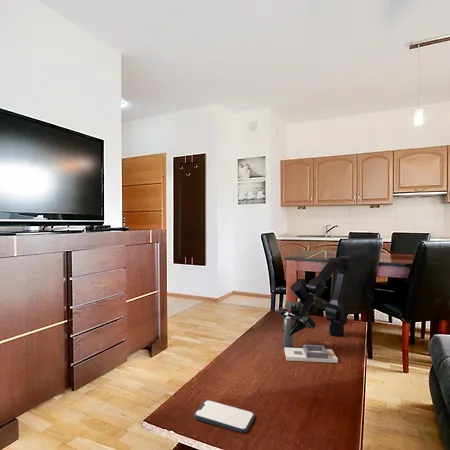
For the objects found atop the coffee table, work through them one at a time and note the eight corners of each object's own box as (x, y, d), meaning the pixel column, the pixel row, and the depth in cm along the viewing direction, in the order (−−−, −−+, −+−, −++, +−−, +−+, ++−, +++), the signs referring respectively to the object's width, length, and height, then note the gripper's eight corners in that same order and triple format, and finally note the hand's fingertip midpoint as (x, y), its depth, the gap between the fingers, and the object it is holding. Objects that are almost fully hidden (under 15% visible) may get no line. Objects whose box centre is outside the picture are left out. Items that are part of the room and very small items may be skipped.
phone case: (255, 417, 92) (206, 403, 99) (255, 412, 92) (206, 398, 98) (245, 437, 84) (192, 420, 90) (245, 431, 84) (192, 414, 90)
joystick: (288, 345, 145) (288, 315, 145) (295, 348, 141) (295, 317, 141) (281, 347, 143) (281, 316, 142) (288, 350, 139) (288, 319, 139)
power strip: (331, 352, 137) (331, 344, 137) (337, 362, 127) (337, 354, 127) (284, 350, 139) (284, 342, 138) (286, 360, 129) (287, 351, 129)
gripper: (280, 290, 152) (262, 317, 146) (311, 298, 136) (292, 329, 130) (292, 304, 156) (275, 331, 150) (323, 314, 140) (305, 344, 135)
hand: (286, 333), depth 141 cm, fingers closed on joystick, 4 cm apart
